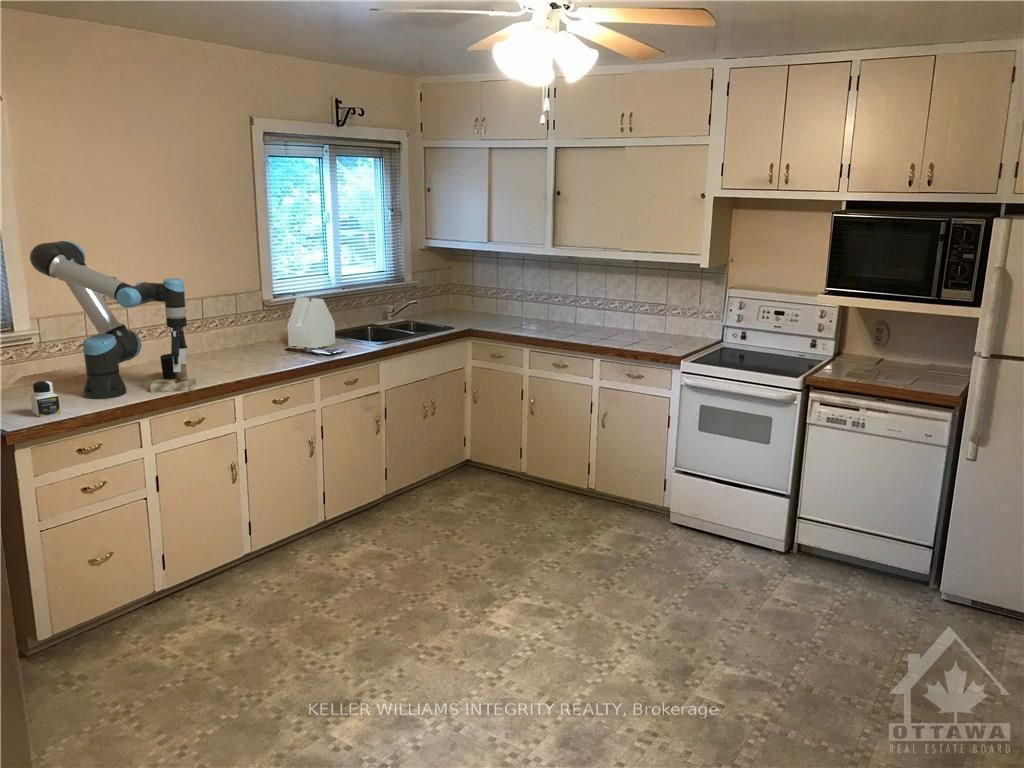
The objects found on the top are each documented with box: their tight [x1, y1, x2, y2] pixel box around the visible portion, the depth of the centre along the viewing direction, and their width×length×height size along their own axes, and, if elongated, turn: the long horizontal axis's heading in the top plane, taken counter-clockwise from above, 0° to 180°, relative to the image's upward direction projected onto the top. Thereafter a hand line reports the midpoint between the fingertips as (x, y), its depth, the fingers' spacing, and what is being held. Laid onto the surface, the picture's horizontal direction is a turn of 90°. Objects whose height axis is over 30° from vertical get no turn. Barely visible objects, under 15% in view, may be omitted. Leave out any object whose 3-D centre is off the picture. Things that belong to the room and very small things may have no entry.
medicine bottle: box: [29, 380, 61, 418], centre depth 285 cm, size 7×7×12 cm
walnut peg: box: [176, 363, 188, 383], centre depth 322 cm, size 4×4×10 cm
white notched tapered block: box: [286, 296, 336, 349], centre depth 409 cm, size 19×15×25 cm
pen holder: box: [159, 353, 177, 380], centre depth 339 cm, size 9×9×10 cm
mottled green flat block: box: [149, 377, 197, 393], centre depth 322 cm, size 16×9×3 cm, turn 104°
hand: (180, 367), depth 321 cm, fingers open, 13 cm apart
